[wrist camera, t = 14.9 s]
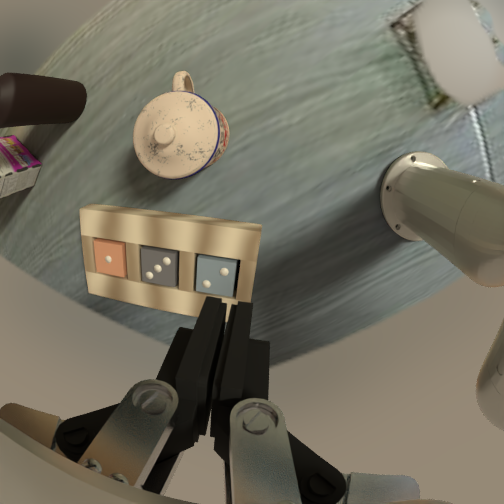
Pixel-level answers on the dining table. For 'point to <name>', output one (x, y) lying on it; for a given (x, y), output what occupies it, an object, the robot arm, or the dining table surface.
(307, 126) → the dining table surface
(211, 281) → the key two
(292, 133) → the dining table surface
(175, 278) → the key three
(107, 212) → the wooden puzzle board
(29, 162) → the candy bar box
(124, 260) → the key one
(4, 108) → the bottle
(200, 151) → the teacup with lid
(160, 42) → the dining table surface
